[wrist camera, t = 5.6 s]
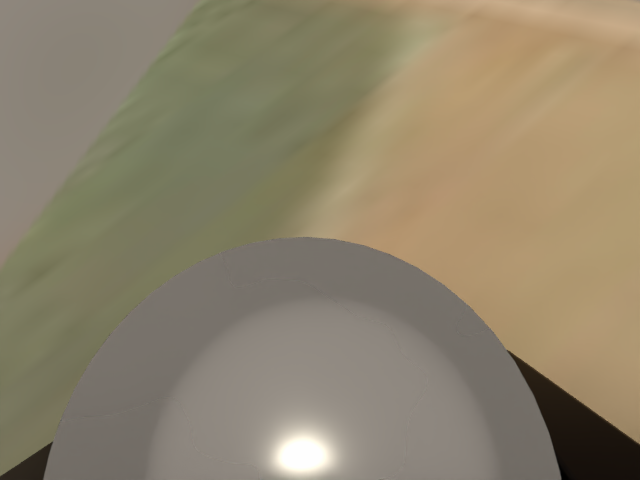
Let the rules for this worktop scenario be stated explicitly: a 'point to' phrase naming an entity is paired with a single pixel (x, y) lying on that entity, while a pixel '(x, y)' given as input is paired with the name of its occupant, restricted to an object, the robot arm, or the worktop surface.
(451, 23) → the worktop surface
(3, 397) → the worktop surface
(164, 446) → the silver cylindrical piece
